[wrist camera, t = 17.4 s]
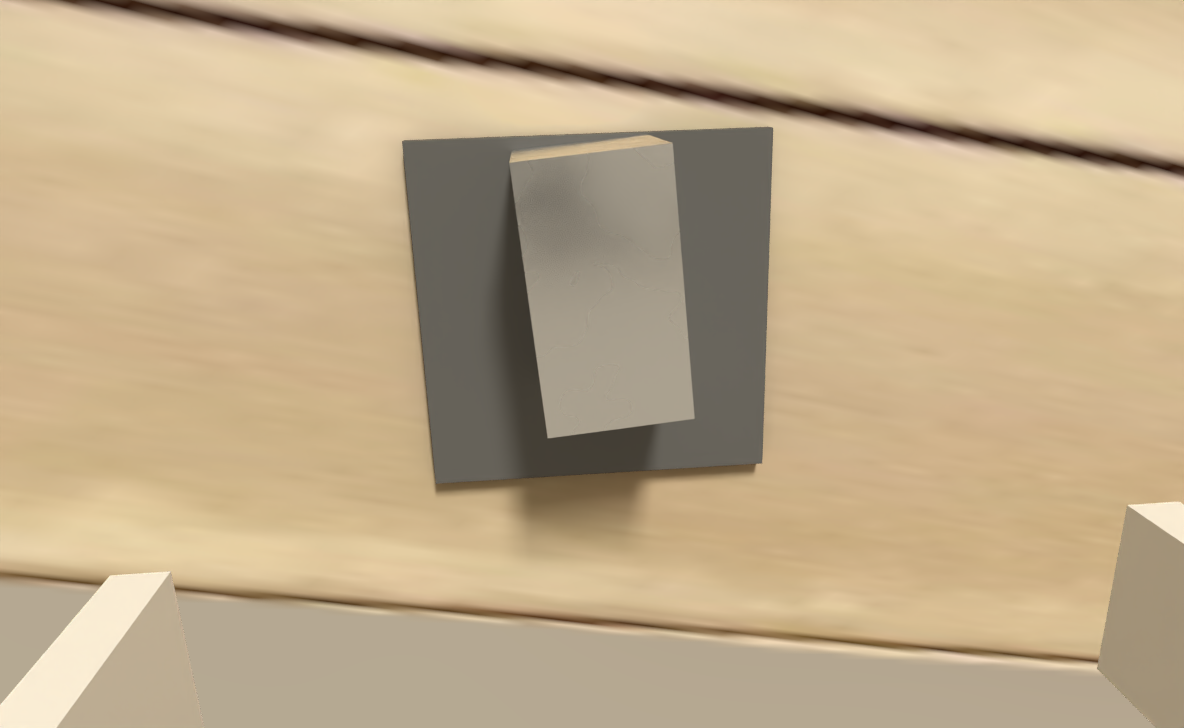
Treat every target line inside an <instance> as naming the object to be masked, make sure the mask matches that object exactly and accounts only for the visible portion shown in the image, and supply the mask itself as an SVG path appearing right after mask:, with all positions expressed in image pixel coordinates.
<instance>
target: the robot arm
mask: <svg viewBox="0 0 1184 728" xmlns="http://www.w3.org/2000/svg"><path fill="white" fill-rule="evenodd" d="M1097 669H1098V670H1099V671H1100V672H1101V673H1102V674H1103V675H1104V676H1105V677H1106V678H1107V679H1108V680H1109V681H1110V682H1111V683H1112V684H1113V685H1114V686H1115V687H1116V688H1117V689H1118V690H1119V691H1120V692H1121V693H1122V694H1123V695H1124V696H1125V697H1126V698H1127V699H1128V700H1129V701H1130V702H1131V703H1132V704H1133V705H1134V706H1135V707H1136V708H1137V709H1138V710H1139V711H1140V712H1141V713H1142V714H1143V715H1144V716H1145V717H1146V718H1147V719H1148V720H1149V721H1150V722H1151V723H1152V724H1153V725H1154V726H1155V727H1156V728H1184V505H1183V504H1182V503H1180V502H1166V503H1152V504H1137V505H1127V509H1126V515H1125V520H1124V525H1123V531H1122V536H1121V542H1120V547H1119V553H1118V558H1117V563H1116V569H1115V574H1114V580H1113V585H1112V591H1111V596H1110V601H1109V607H1108V612H1107V618H1106V623H1105V629H1104V634H1103V639H1102V645H1101V650H1100V656H1099V661H1098V667H1097ZM0 728H204V724H203V720H202V715H201V710H200V706H199V701H198V697H197V692H196V687H195V682H194V678H193V673H192V668H191V664H190V659H189V654H188V650H187V645H186V640H185V636H184V631H183V627H182V622H181V617H180V613H179V608H178V603H177V598H176V594H175V589H174V584H173V580H172V575H171V571H168V572H154V573H139V574H125V575H111V576H109V578H108V579H107V580H106V581H105V582H104V583H103V585H102V586H101V587H100V588H99V589H98V591H97V592H96V593H95V594H94V595H93V597H92V598H91V599H90V600H89V601H88V602H87V604H86V605H85V606H84V607H83V608H82V609H81V611H80V612H79V613H78V614H77V615H76V617H75V618H74V619H73V620H72V621H71V622H70V624H69V625H68V626H67V627H66V628H65V629H64V631H63V632H62V633H61V634H60V635H59V636H58V638H57V639H56V640H55V641H54V642H53V643H52V645H51V646H50V647H49V648H48V649H47V651H46V652H45V653H44V654H43V655H42V657H41V658H40V659H39V660H38V661H37V662H36V664H35V665H34V666H33V667H32V668H31V669H30V671H29V672H28V673H27V674H26V675H25V677H24V678H23V679H22V680H21V681H20V682H19V684H18V685H17V686H16V687H15V688H14V690H13V691H12V692H11V693H10V694H9V695H8V696H7V698H6V699H5V700H4V701H3V702H2V704H1V705H0Z"/></svg>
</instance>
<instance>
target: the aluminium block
mask: <svg viewBox="0 0 1184 728" xmlns="http://www.w3.org/2000/svg"><path fill="white" fill-rule="evenodd" d="M509 165H510V172H511V179H512V186H513V193H514V201H515V208H516V215H517V222H518V229H519V236H520V243H521V251H522V258H523V265H524V272H525V279H526V286H527V294H528V301H529V308H530V315H531V322H532V329H533V336H534V344H535V351H536V358H537V365H538V372H539V379H540V386H541V394H542V401H543V408H544V415H545V422H546V429H547V437H548V438H555V437H562V436H570V435H577V434H585V433H592V432H600V431H607V430H615V429H622V428H630V427H637V426H645V425H652V424H660V423H667V422H674V421H682V420H689V419H695V417H694V404H693V392H692V379H691V366H690V354H689V341H688V329H687V316H686V304H685V291H684V279H683V266H682V254H681V241H680V229H679V216H678V204H677V191H676V178H675V166H674V153H673V143H671V142H668V141H665V140H662V139H659V138H656V137H653V136H650V135H647V134H646V135H638V136H630V137H621V138H613V139H605V140H597V141H588V142H580V143H572V144H563V145H555V146H547V147H539V148H530V149H522V150H514V151H512V153H511V157H510V162H509Z"/></svg>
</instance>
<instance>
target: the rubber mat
mask: <svg viewBox="0 0 1184 728" xmlns="http://www.w3.org/2000/svg"><path fill="white" fill-rule="evenodd" d="M646 134H647V135H650V136H653V137H656V138H659V139H662V140H665V141H668V142H671V143H673V153H674V166H675V178H676V191H677V204H678V216H679V229H680V241H681V254H682V266H683V279H684V291H685V304H686V316H687V329H688V341H689V354H690V366H691V379H692V392H693V404H694V417H695V419H689V420H682V421H674V422H667V423H660V424H652V425H645V426H637V427H630V428H622V429H615V430H607V431H600V432H592V433H585V434H577V435H570V436H562V437H555V438H548V437H547V429H546V422H545V415H544V408H543V401H542V394H541V386H540V379H539V372H538V365H537V358H536V351H535V344H534V336H533V329H532V322H531V315H530V308H529V301H528V294H527V286H526V279H525V272H524V265H523V258H522V251H521V243H520V236H519V229H518V222H517V215H516V208H515V201H514V193H513V186H512V179H511V172H510V165H509V162H510V157H511V153H512V151H514V150H522V149H530V148H539V147H547V146H555V145H563V144H572V143H580V142H588V141H597V140H605V139H613V138H621V137H630V136H638V135H646ZM402 144H403V154H404V164H405V175H406V185H407V195H408V205H409V215H410V225H411V235H412V246H413V256H414V266H415V276H416V286H417V296H418V306H419V317H420V327H421V337H422V347H423V357H424V367H425V378H426V388H427V398H428V408H429V418H430V428H431V438H432V449H433V459H434V469H435V479H436V484H437V483H454V482H470V481H486V480H502V479H518V478H534V477H550V476H566V475H582V474H598V473H614V472H630V471H647V470H663V469H679V468H695V467H711V466H727V465H743V464H759V463H762V453H763V422H764V391H765V361H766V330H767V300H768V269H769V238H770V208H771V177H772V146H773V128H772V127H754V128H727V129H700V130H673V131H646V132H619V133H592V134H565V135H538V136H511V137H484V138H457V139H430V140H405V141H402Z"/></svg>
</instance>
